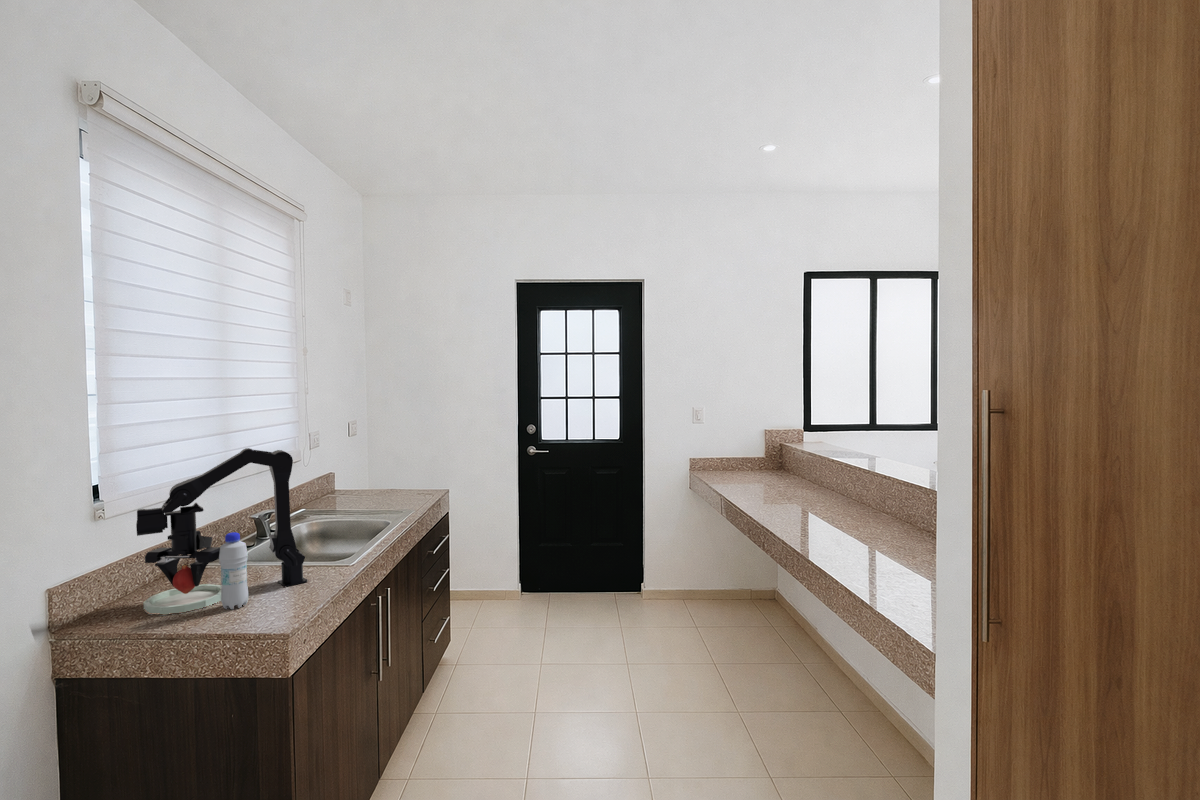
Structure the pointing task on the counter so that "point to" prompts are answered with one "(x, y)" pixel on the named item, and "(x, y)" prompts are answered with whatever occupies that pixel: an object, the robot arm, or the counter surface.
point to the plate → (183, 599)
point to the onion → (183, 580)
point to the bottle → (233, 571)
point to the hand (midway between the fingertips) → (186, 586)
